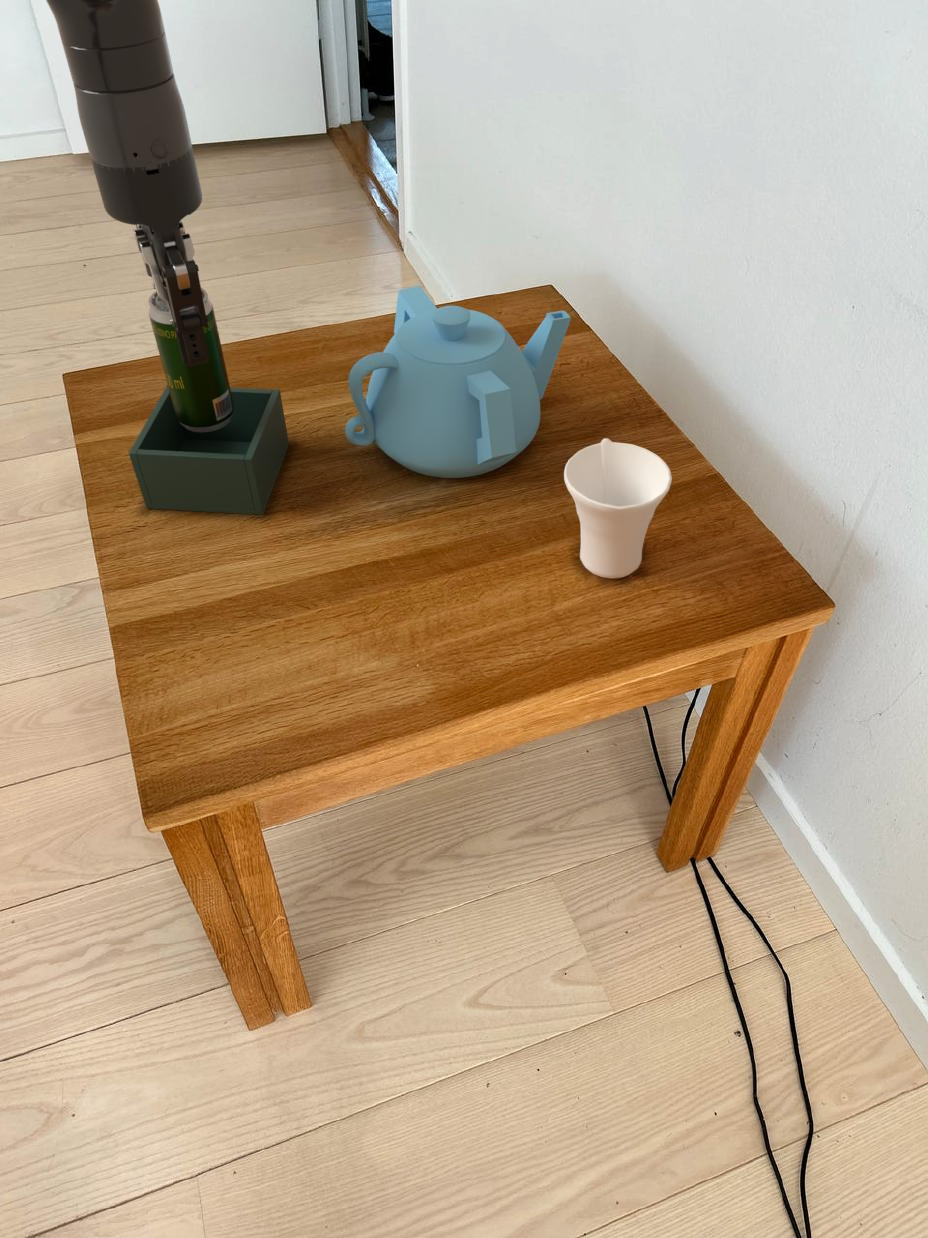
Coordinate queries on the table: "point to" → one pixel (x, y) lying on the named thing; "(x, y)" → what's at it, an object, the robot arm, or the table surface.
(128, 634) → the table surface
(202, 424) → the beer can
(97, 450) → the table surface
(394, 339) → the teapot
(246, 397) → the open box
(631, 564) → the cup
